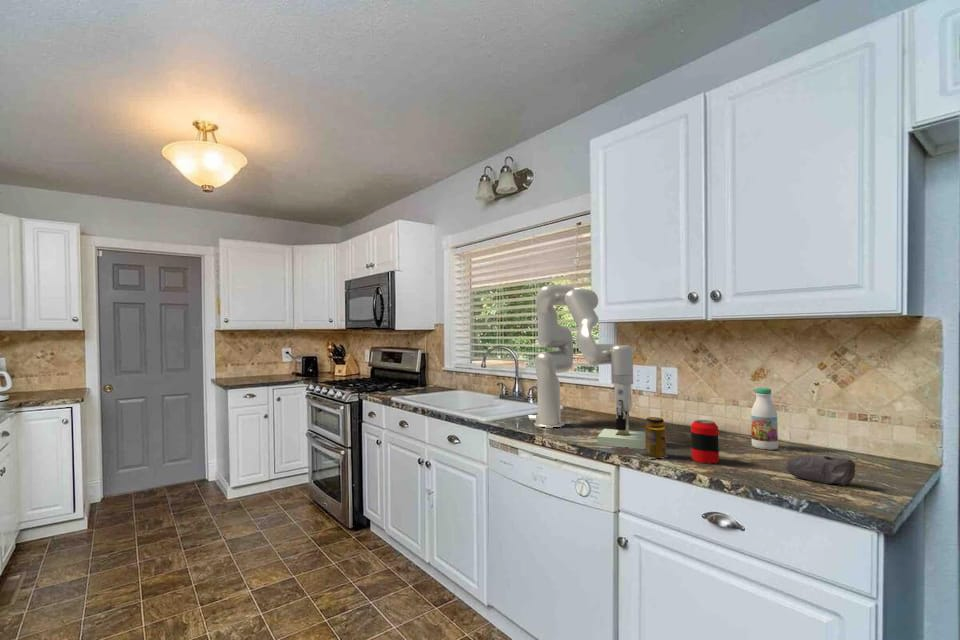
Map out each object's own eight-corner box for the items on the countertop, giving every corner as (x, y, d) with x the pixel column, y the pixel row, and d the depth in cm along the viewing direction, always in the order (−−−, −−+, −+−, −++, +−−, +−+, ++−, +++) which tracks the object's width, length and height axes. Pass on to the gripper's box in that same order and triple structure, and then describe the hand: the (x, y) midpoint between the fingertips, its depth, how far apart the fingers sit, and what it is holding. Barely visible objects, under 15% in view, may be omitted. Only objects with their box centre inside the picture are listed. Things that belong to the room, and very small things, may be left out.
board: (597, 445, 166) (597, 436, 166) (604, 436, 178) (603, 428, 178) (645, 449, 159) (645, 440, 159) (648, 440, 172) (648, 432, 172)
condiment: (671, 457, 149) (671, 419, 149) (652, 460, 145) (651, 421, 146) (654, 452, 156) (653, 415, 156) (634, 455, 152) (634, 417, 152)
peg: (617, 443, 168) (616, 415, 168) (618, 441, 171) (618, 413, 172) (628, 444, 166) (627, 415, 166) (629, 441, 170) (629, 414, 170)
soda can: (686, 459, 147) (685, 420, 147) (704, 456, 149) (703, 418, 150) (705, 465, 140) (704, 424, 140) (724, 462, 142) (723, 422, 143)
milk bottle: (751, 443, 165) (750, 386, 165) (777, 446, 161) (776, 387, 161) (751, 448, 158) (749, 389, 159) (778, 451, 154) (777, 390, 155)
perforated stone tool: (783, 478, 127) (783, 452, 127) (787, 473, 131) (786, 448, 131) (854, 490, 117) (854, 462, 117) (856, 485, 121) (855, 458, 121)
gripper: (630, 382, 160) (631, 433, 160) (635, 377, 176) (636, 423, 175) (607, 381, 163) (608, 431, 163) (614, 376, 179) (615, 422, 178)
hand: (622, 427), depth 169 cm, fingers open, 9 cm apart
